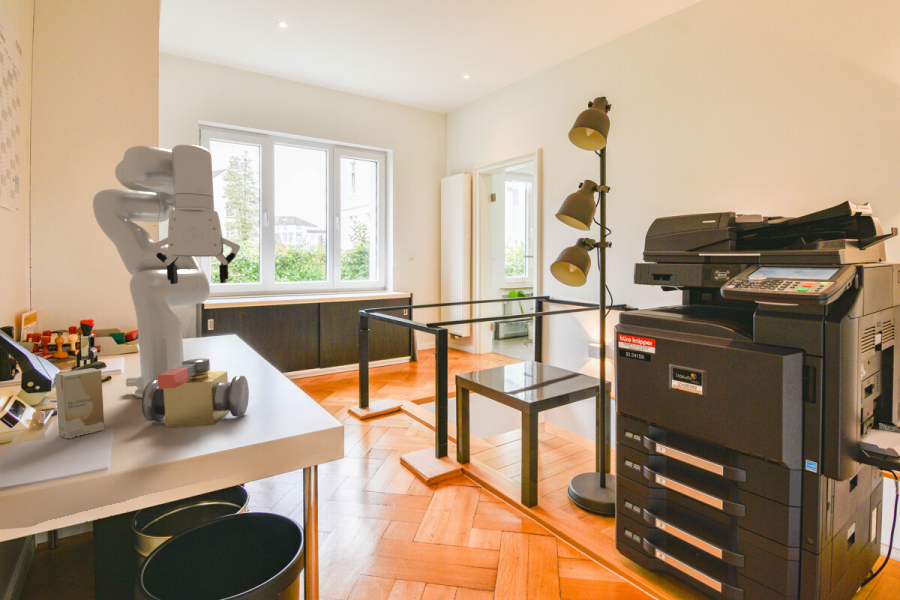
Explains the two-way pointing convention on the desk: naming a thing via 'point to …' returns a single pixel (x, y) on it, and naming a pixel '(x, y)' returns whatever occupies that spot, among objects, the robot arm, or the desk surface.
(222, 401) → the valve
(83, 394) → the skincare box
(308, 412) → the desk surface
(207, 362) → the lever
